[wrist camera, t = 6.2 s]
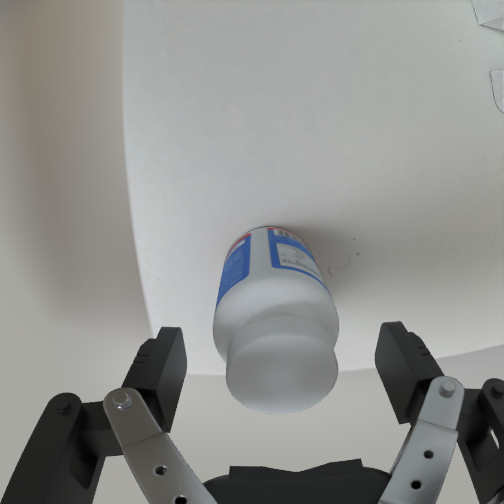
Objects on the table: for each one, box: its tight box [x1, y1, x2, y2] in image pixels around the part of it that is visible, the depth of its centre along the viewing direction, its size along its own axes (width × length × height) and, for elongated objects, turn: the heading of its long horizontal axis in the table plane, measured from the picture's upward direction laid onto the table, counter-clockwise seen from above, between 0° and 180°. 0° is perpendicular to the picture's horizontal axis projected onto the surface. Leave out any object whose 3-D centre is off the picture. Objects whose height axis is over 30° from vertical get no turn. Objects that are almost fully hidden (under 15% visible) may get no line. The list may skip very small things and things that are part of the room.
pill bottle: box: [213, 227, 339, 414], centre depth 15 cm, size 6×5×10 cm
